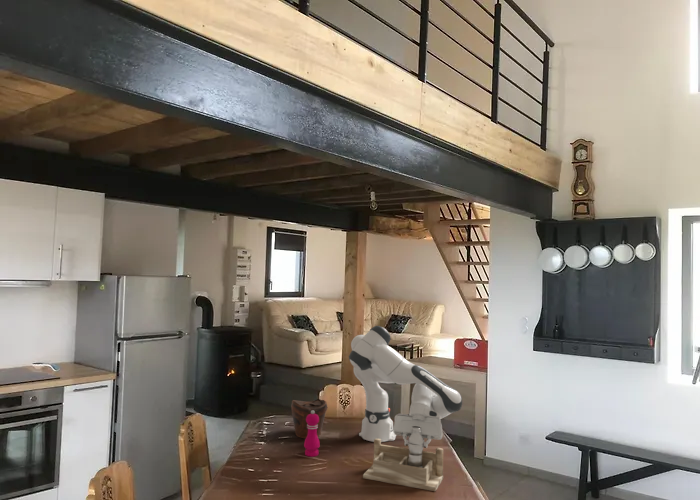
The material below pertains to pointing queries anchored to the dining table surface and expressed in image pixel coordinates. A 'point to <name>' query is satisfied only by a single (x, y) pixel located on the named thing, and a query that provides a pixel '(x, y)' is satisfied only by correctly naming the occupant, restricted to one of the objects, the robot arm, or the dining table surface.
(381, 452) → the wooden compartment rack
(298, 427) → the brown flower pot
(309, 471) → the dining table surface
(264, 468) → the dining table surface
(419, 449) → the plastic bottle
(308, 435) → the magenta pepper grinder
